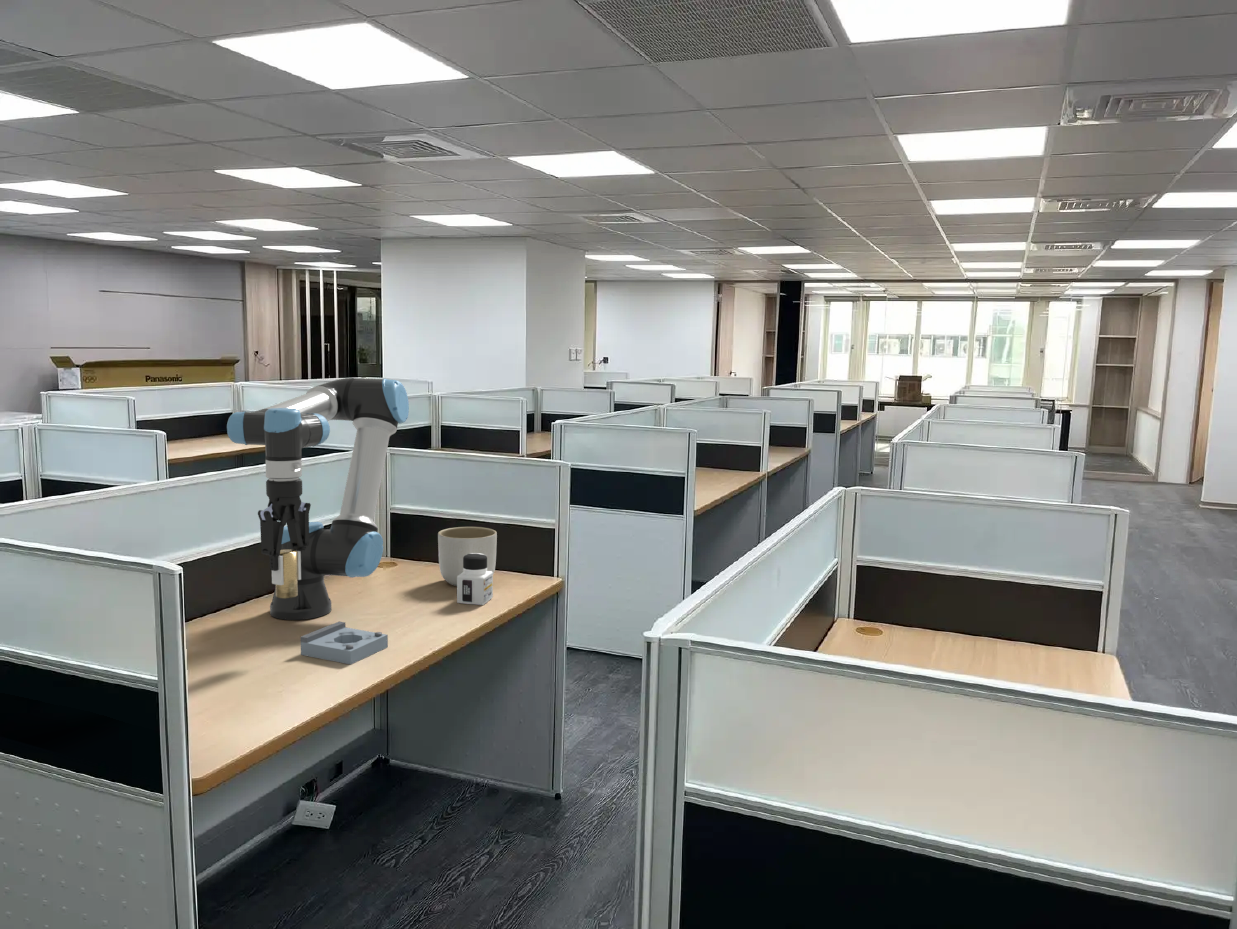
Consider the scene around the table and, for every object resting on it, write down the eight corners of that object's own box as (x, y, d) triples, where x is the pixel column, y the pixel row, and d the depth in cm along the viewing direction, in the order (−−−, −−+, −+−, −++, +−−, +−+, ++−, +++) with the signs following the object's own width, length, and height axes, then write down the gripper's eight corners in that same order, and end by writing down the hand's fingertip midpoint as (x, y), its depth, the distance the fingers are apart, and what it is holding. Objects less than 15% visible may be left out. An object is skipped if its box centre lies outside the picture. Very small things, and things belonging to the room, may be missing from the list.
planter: (508, 581, 276) (508, 531, 274) (471, 593, 261) (471, 541, 259) (463, 573, 284) (463, 524, 282) (426, 584, 270) (425, 533, 268)
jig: (300, 654, 208) (300, 636, 207) (339, 638, 220) (339, 621, 219) (350, 664, 203) (350, 646, 202) (387, 647, 214) (387, 629, 214)
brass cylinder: (271, 596, 206) (270, 552, 205) (286, 591, 210) (285, 548, 209) (287, 599, 204) (286, 555, 203) (302, 594, 208) (301, 551, 207)
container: (483, 605, 250) (483, 558, 248) (456, 603, 251) (456, 556, 250) (493, 598, 257) (493, 552, 256) (466, 596, 259) (466, 550, 257)
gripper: (266, 485, 194) (269, 592, 197) (325, 475, 210) (327, 575, 213) (240, 482, 197) (243, 588, 200) (300, 472, 213) (302, 571, 216)
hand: (286, 581), depth 207 cm, fingers closed on brass cylinder, 4 cm apart
